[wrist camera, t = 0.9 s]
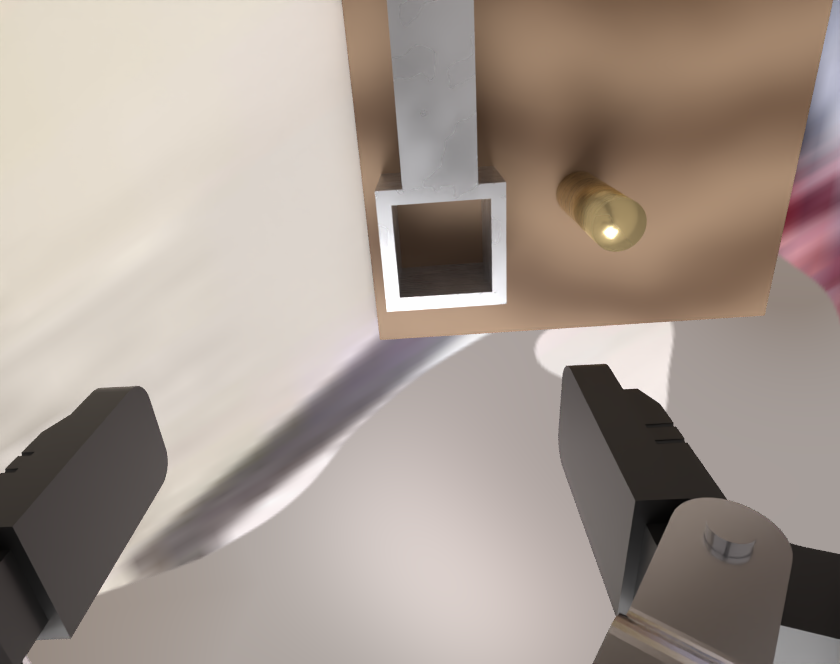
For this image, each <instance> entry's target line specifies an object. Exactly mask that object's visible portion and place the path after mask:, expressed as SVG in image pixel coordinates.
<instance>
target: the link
mask: <svg viewBox="0 0 840 664" xmlns="http://www.w3.org/2000/svg"><path fill="white" fill-rule="evenodd" d="M387 10H388V22H389V34H390V46H391V59H392V71H393V83H394V95H395V107H396V119H397V131H398V143H399V155H400V167H401V173H388V174H381V175H380V178H379V181H378V184H377V186H376V189H375V200H376V209H377V219H378V228H379V238H380V248H381V257H382V267H383V276H384V286H385V296H386V305H387V312H390V311H405V310H421V309H436V308H451V307H467V306H482V305H497V304H506V181H505V180H504V179H503V177H502V176H501V175H500V173H499V172H498V171H497V169H496V168H495V167H494V166H485V167H478V155H477V114H476V73H475V31H474V0H387ZM476 199H481V206H482V251H483V262H482V263H467V264H452V265H437V266H422V267H407V268H402V260H401V248H400V237H399V226H398V214H397V205H406V204H420V203H434V202H448V201H462V200H476Z"/></svg>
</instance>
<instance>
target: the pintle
mask: <svg viewBox="0 0 840 664" xmlns="http://www.w3.org/2000/svg"><path fill="white" fill-rule="evenodd" d="M556 199H557V203H558V205H559V206H560V208H561V209H562V210H563V211H564V212H565V213H566V214H567V215H568V216H569V217H570V218H571V219H572V220H573V221H575V222H576V223H577V224H578V225H579V226H580V227H581V228H582V229H583V230H584V231H585V232H586V233H587V234H588V235H589V236H590V237H591V238H592V239H593V240H594V241H595V242H596V243H597V244H598V245H599V246H600V247H601V248H603V249H605V250H607V251H612V252H619V251H624V250H627V249H629V248H631V247H632V246H634V245H635V244H636V243H637V242H638V241H639V240H640V239H641V237H642V236H643V234H644V232H645V229H646V225H647V217H646V213H645V211H644V209H643V208H642V206H641V205H640V204H639V203H637V202H636V201H634V200H632V199H631V198H629V197H627V196H626V195H624V194H623V193H621V192H619V191H618V190H616V189H614V188H613V187H611V186H609V185H608V184H606V183H605V182H603V181H601V180H600V179H598V178H596V177H595V176H593V175H592V174H590V173H588V172H585V171H575V172H572V173H570V174H568V175H566V176H565V177H564V178H563V179H562V180H561V182H560V183H559V185H558V187H557V191H556Z"/></svg>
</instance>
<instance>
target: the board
mask: <svg viewBox="0 0 840 664" xmlns="http://www.w3.org/2000/svg"><path fill="white" fill-rule="evenodd" d="M832 3H833V0H474V31H475V73H476V114H477V155H478V167H485V166H494V167H495V168H496V169H497V171H498V172H499V173H500V175H501V176H502V177H503V179H504V180H505V181H506V304H497V305H482V306H467V307H451V308H436V309H421V310H405V311H390V312H387V305H386V296H385V286H384V276H383V267H382V257H381V248H380V238H379V228H378V219H377V209H376V200H375V189H376V186H377V184H378V181H379V178H380V175H381V174H388V173H401V167H400V155H399V143H398V131H397V119H396V107H395V95H394V83H393V71H392V59H391V46H390V34H389V22H388V10H387V0H342V7H343V16H344V25H345V33H346V42H347V51H348V60H349V69H350V78H351V87H352V95H353V104H354V113H355V122H356V131H357V140H358V149H359V157H360V166H361V175H362V184H363V193H364V202H365V211H366V219H367V228H368V237H369V246H370V255H371V264H372V273H373V282H374V290H375V299H376V308H377V317H378V326H379V335H380V340H386V339H402V338H418V337H433V336H449V335H465V334H481V333H496V332H510V331H511V332H512V331H528V330H542V329H559V328H575V327H591V326H606V325H622V324H638V323H653V322H669V321H684V320H701V319H716V318H731V317H747V316H763V315H765V311H766V306H767V302H768V297H769V293H770V288H771V283H772V278H773V274H774V269H775V264H776V260H777V256H778V251H779V247H780V242H781V237H782V233H783V228H784V224H785V219H786V214H787V210H788V205H789V201H790V196H791V191H792V187H793V182H794V178H795V173H796V168H797V164H798V159H799V154H800V150H801V145H802V141H803V136H804V131H805V127H806V122H807V118H808V113H809V108H810V104H811V99H812V95H813V90H814V85H815V81H816V76H817V72H818V67H819V62H820V58H821V53H822V49H823V44H824V39H825V35H826V30H827V26H828V21H829V16H830V12H831V7H832ZM575 171H585V172H588V173H590V174H592V175H593V176H595V177H596V178H598V179H600V180H601V181H603V182H605V183H606V184H608V185H609V186H611V187H613V188H614V189H616V190H618V191H619V192H621V193H623V194H624V195H626V196H627V197H629V198H631V199H632V200H634V201H636V202H637V203H639V204H640V205H641V206H642V208H643V209H644V211H645V213H646V217H647V225H646V229H645V232H644V234H643V236H642V237H641V239H640V240H639V241H638V242H637V243H636V244H635V245H634V246H632V247H631V248H629V249H627V250H624V251H619V252H612V251H607V250H605V249H603V248H601V247H600V246H599V245H598V244H597V243H596V242H595V241H594V240H593V239H592V238H591V237H590V236H589V235H588V234H587V233H586V232H585V231H584V230H583V229H582V228H581V227H580V226H579V225H578V224H577V223H576V222H575V221H573V220H572V219H571V218H570V217H569V216H568V215H567V214H566V213H565V212H564V211H563V210H562V209H561V208H560V206H559V205H558V203H557V199H556V191H557V187H558V185H559V183H560V182H561V180H562V179H563V178H564V177H565V176H566V175H568V174H570V173H572V172H575ZM397 214H398V226H399V237H400V248H401V260H402V268H407V267H422V266H437V265H452V264H467V263H482V262H483V251H482V206H481V199H476V200H462V201H448V202H434V203H420V204H406V205H397Z"/></svg>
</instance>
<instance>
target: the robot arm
mask: <svg viewBox="0 0 840 664" xmlns="http://www.w3.org/2000/svg"><path fill="white" fill-rule="evenodd" d="M558 436H559V437H558V438H559V439H558V440H559V452H560V458H561V463H562V466H563V469H564V472H565V475H566V478H567V480H568V483H569V486H570V489H571V492H572V494H573V497H574V500H575V503H576V506H577V508H578V511H579V514H580V517H581V520H582V523H583V525H584V528H585V531H586V534H587V537H588V539H589V542H590V545H591V548H592V550H593V553H594V556H595V559H596V562H597V565H598V567H599V570H600V573H601V576H602V578H603V581H604V584H605V587H606V590H607V593H608V596H609V598H610V601H611V604H612V607H613V610H614V612H615V615H616V618H615V619H614V621H613V623H612V624H611V626H610V628H609V630H608V632H607V634H606V636H605V639H604V641H603V643H602V645H601V647H600V649H599V651H598V654H597V656H596V658H595V660H594V662H593V664H840V554H836V553H831V552H826V551H821V550H816V549H811V548H806V547H802V546H798V545H794V544H791V543H789V541H788V539H787V538H786V536H785V535H784V534H783V532H782V531H781V530H780V529H779V528H778V527H777V526H776V525H775V524H774V523H773V522H772V521H770V520H769V519H768V518H766V517H765V516H763V515H762V514H760V513H759V512H757V511H755V510H753V509H751V508H749V507H747V506H744V505H742V504H740V503H736V502H733V501H730V500H727V499H726V497H725V496H724V494H723V493H722V492H721V490H720V489H719V487H718V486H717V485H716V483H715V482H714V480H713V479H712V477H711V476H710V474H709V473H708V472H707V470H706V469H705V467H704V466H703V464H702V463H701V462H700V460H699V459H698V457H697V456H696V455H695V453H694V452H693V450H692V449H691V447H690V446H689V445H688V443H685V441H684V437H683V436H682V434H681V433H680V432H679V430H678V429H677V427H674V426H673V422H672V420H671V419H670V417H669V416H668V415H667V413H666V412H665V410H664V409H663V407H662V406H661V405H660V404H659V403H658V402H656V401H655V400H653V399H652V398H650V397H649V396H648V395H646V394H645V393H643V392H642V391H640V390H639V389H623V388H622V387H621V385H620V384H619V382H618V380H617V379H616V377H615V376H614V374H613V372H612V371H611V369H610V368H609V366H608V365H607V364H595V365H574V366H566V367H565V368H564V371H563V377H562V390H561V406H560V419H559V434H558ZM167 466H168V459H167V452H166V448H165V445H164V442H163V439H162V436H161V432H160V429H159V426H158V423H157V420H156V417H155V414H154V411H153V408H152V405H151V402H150V399H149V396H148V394H147V392H146V391H145V389H143V388H142V387H140V386H131V387H111V388H98V389H96V390H94V391H93V392H92V393H91V394H90V395H89V396H88V397H87V398H86V399H85V400H84V401H83V402H82V403H81V404H80V405H79V407H78V408H77V409H76V410H75V411H74V412H73V413H72V414H71V415H69V416H67V417H66V418H64V419H62V420H61V421H59V422H58V423H56V424H54V425H53V426H51V427H50V428H48V429H47V430H45V431H43V432H42V433H41V434H40V435H39V436H38V437H37V438H36V439H35V440H34V441H33V442H32V443H31V444H30V445H29V446H28V447H27V448H26V449H25V450H24V451H23V452H22V456H18V457H17V458H16V459H15V460H14V461H13V462H12V463H11V464H10V465H9V466H8V467H7V468H6V469H5V473H1V474H0V664H31V662H30V660H29V659H28V657H27V653H28V652H29V650H30V649H31V647H32V646H33V644H34V643H35V641H36V640H48V639H70V638H71V637H72V636H73V634H74V632H75V631H76V629H77V627H78V626H79V624H80V622H81V620H82V619H83V617H84V615H85V614H86V612H87V610H88V609H89V607H90V605H91V604H92V602H93V600H94V599H95V597H96V595H97V594H98V592H99V590H100V589H101V587H102V585H103V584H104V582H105V580H106V578H107V577H108V575H109V573H110V572H111V570H112V568H113V567H114V565H115V563H116V562H117V560H118V558H119V557H120V555H121V553H122V552H123V550H124V548H125V547H126V545H127V543H128V542H129V540H130V538H131V536H132V535H133V533H134V531H135V530H136V528H137V526H138V525H139V523H140V521H141V520H142V518H143V516H144V515H145V513H146V511H147V510H148V508H149V506H150V505H151V503H152V501H153V500H154V498H155V496H156V494H157V493H158V491H159V489H160V488H161V486H162V484H163V482H164V480H165V477H166V473H167Z"/></svg>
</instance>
